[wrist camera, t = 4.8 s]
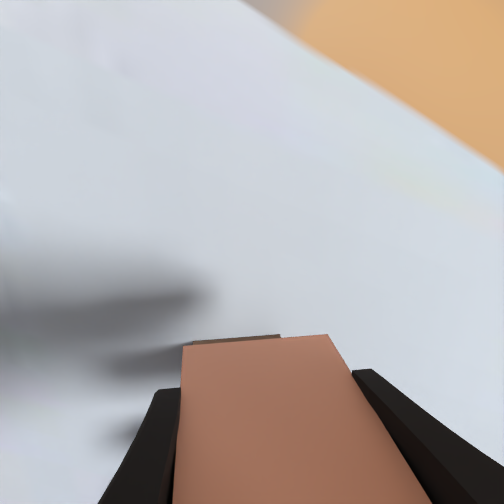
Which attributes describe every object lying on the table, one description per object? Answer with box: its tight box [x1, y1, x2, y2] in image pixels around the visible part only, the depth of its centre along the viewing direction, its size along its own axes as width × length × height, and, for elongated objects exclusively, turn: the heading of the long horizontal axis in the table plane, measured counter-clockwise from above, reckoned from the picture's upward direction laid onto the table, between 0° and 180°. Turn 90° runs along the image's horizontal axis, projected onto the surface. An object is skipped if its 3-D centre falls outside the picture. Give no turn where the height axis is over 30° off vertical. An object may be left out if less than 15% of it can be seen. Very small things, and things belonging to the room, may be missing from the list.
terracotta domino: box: [172, 334, 432, 504], centre depth 8 cm, size 2×5×8 cm, turn 89°
